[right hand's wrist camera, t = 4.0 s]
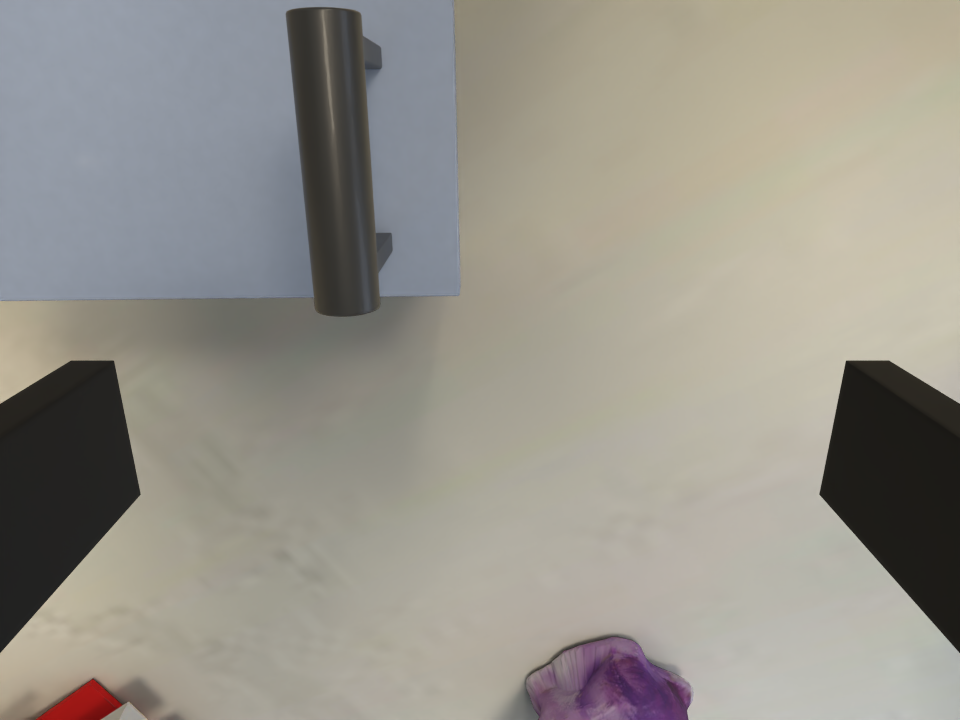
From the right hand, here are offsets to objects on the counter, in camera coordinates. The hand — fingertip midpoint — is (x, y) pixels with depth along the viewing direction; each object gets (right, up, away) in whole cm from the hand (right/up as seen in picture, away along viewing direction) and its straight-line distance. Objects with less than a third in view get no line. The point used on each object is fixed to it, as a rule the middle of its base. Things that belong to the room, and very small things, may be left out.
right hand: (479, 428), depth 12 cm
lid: (-10, +9, +12) cm, 18 cm away
